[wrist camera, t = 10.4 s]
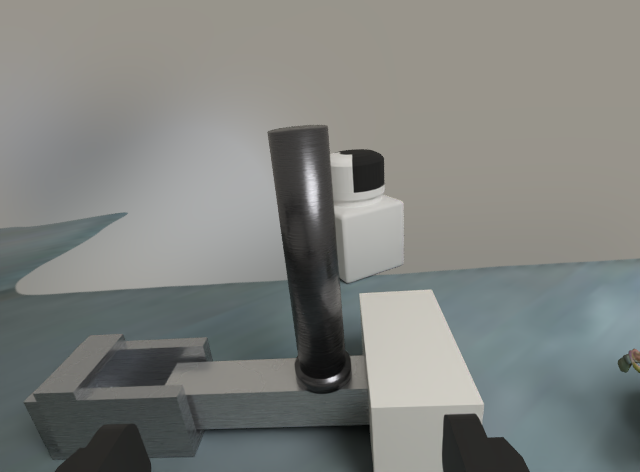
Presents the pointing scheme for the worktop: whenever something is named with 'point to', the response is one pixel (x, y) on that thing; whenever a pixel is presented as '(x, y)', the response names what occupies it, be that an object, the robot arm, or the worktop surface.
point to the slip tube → (308, 315)
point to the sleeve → (119, 395)
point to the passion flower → (630, 361)
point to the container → (365, 216)
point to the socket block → (411, 379)
